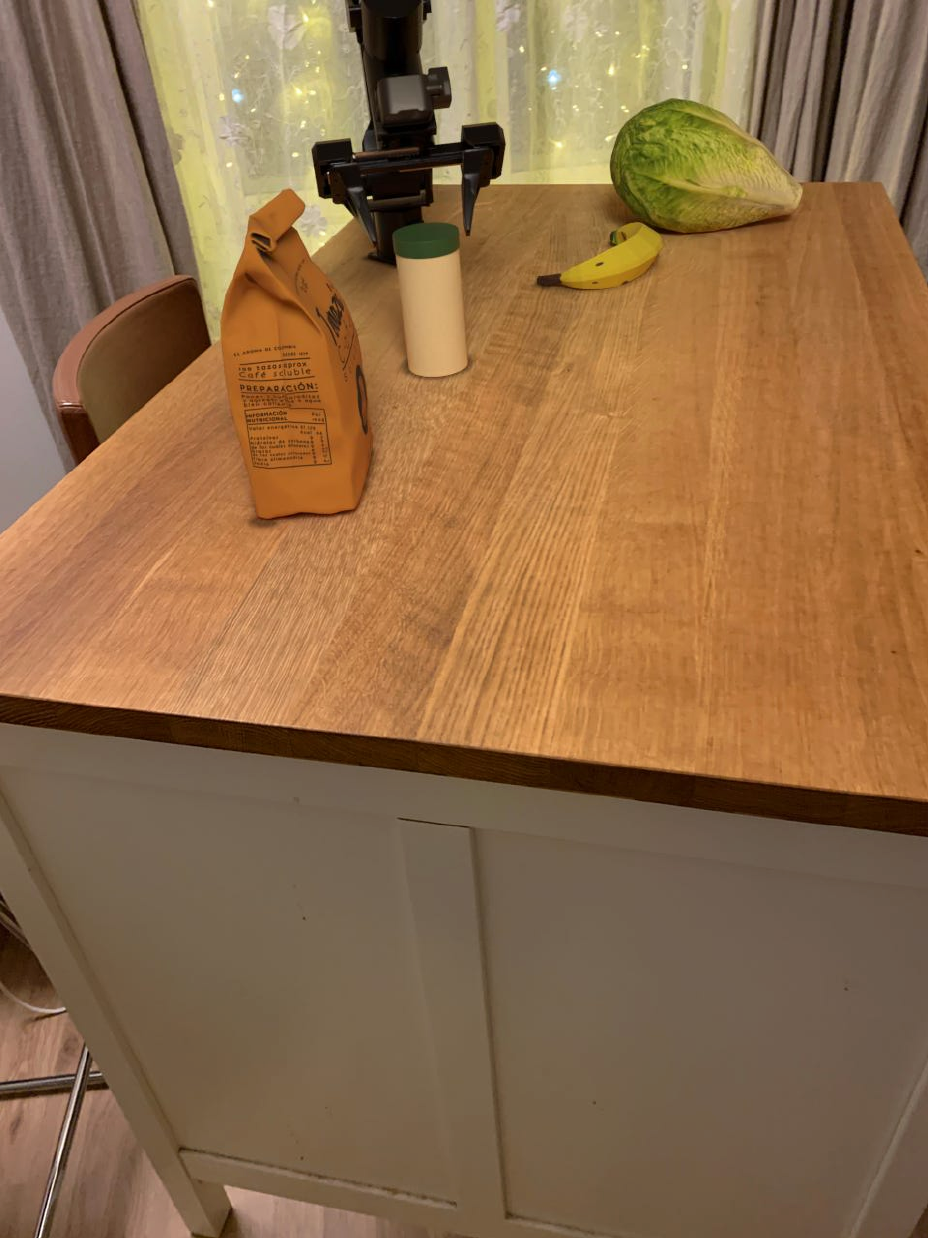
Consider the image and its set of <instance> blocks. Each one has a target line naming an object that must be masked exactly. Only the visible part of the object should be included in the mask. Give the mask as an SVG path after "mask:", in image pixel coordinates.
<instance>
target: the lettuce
mask: <svg viewBox="0 0 928 1238" xmlns="http://www.w3.org/2000/svg"><path fill="white" fill-rule="evenodd" d="M609 174H610V180H611V183H612V185H613V188H614V190H615V193H616V194H617V196H618V197H619V198H620V199H621V201H622V202H623V203H624V204H625V205H626V207H627V208H628V209H629V211H630V212H631V213H632V214H633V215H634V216H636V217H637V218H639V219H641V220H642V221H644V222H646V223H647V224H649V225H651V226H654V227H658V228H661V229H665V230H668V231H674V232H677V233H683V234H686V233H689V234H690V233H706V232H715V231H720V230H725V229H732V228H736V227H740V226H745V225H748V224H750V223H751V224H752V223H754V222H760V221H763V220H767V219H771V218H775V217H776V218H777V217H780V216H786V215H792V214H793V213H794V212H795V211H796V210H797V208H798V207H799V205H801V203H802V198H803V192H804V187H803V186H802V184H800V183H799V181H797V179H796V178H795V177H794V176H793V175H791V173H790V172H788V171H787V170H786V168H785V167H784V166H783V165H782V163H781V162H780V161H779V160H778V159H777V158H776V156H775V155H773V153H772V152H771V151H770V150H769V148H768V147H767V146H766V145H765V144H764V143H763V142H762V141H761V140H759V139H757V138H756V137H755V136H753V135H752V134H751V133H749V132H747V130H745V129H744V128H742V127H741V126H740V125H739V124H738V123H736V122H735V121H734V120H733V119H732V118H731V117H730V116H728V115H727V114H726V113H724V112H722V111H721V110H720V111H719V110H717V109H715V108H713V107H711V106H707V105H705V104H702V103H699V102H696V101H695V100H691V99H690V100H689V99H683V98H675V97H671V98H668V99H665V100H663V101H660V102H657V103H655V104H652V105H649V106H647V107H644V108H642V109H641V110H640V111H638V112H637V113H636V114H634V115H633V116H632V117H631V118H629V119H628V120H626V121H625V122H624V124H623V126H622V127H621V128H620V130H619V131H618V133H617V135H616V137H615V141H614V144H613V147H612V150H611V154H610V160H609Z"/></svg>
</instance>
